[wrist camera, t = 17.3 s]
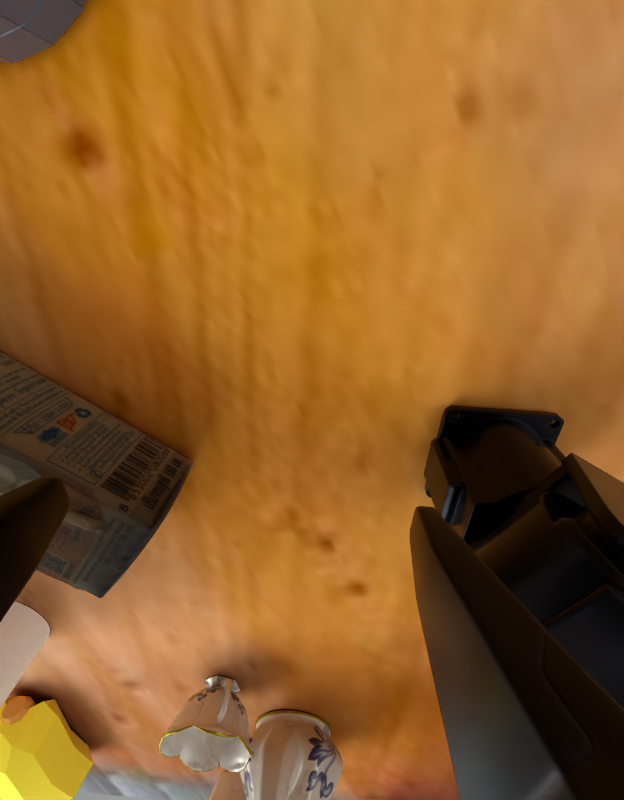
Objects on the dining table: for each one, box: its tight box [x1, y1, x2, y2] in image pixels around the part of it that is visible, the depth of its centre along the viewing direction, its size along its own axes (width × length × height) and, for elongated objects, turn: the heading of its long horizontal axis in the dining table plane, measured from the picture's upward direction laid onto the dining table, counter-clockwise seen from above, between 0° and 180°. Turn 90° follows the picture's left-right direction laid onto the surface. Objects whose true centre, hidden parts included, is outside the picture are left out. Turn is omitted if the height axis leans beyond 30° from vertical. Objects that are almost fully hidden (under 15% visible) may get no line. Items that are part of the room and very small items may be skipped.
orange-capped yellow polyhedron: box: [0, 696, 93, 800], centre depth 42 cm, size 18×7×8 cm
